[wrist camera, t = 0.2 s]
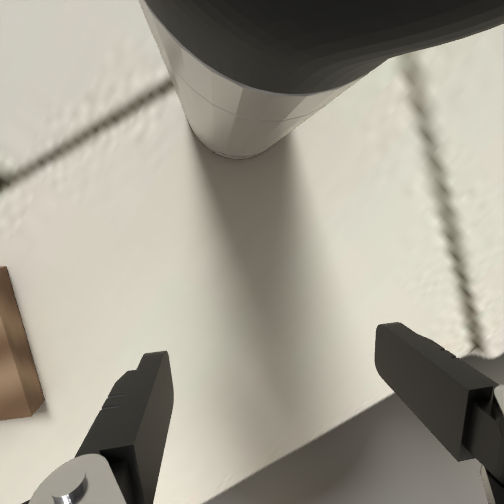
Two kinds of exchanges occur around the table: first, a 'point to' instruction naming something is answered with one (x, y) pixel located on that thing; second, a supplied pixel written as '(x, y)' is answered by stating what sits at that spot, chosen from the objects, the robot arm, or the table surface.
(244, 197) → the table surface
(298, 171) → the table surface
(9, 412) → the workboard
